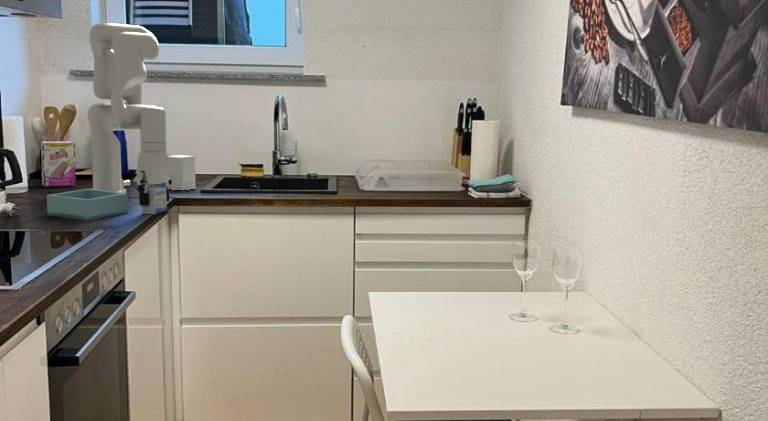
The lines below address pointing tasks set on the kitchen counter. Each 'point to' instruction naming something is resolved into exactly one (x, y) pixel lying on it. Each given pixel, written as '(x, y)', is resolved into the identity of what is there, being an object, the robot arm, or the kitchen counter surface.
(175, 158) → the supplement box
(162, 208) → the medicine box
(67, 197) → the collection bin
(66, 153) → the candy bar box
